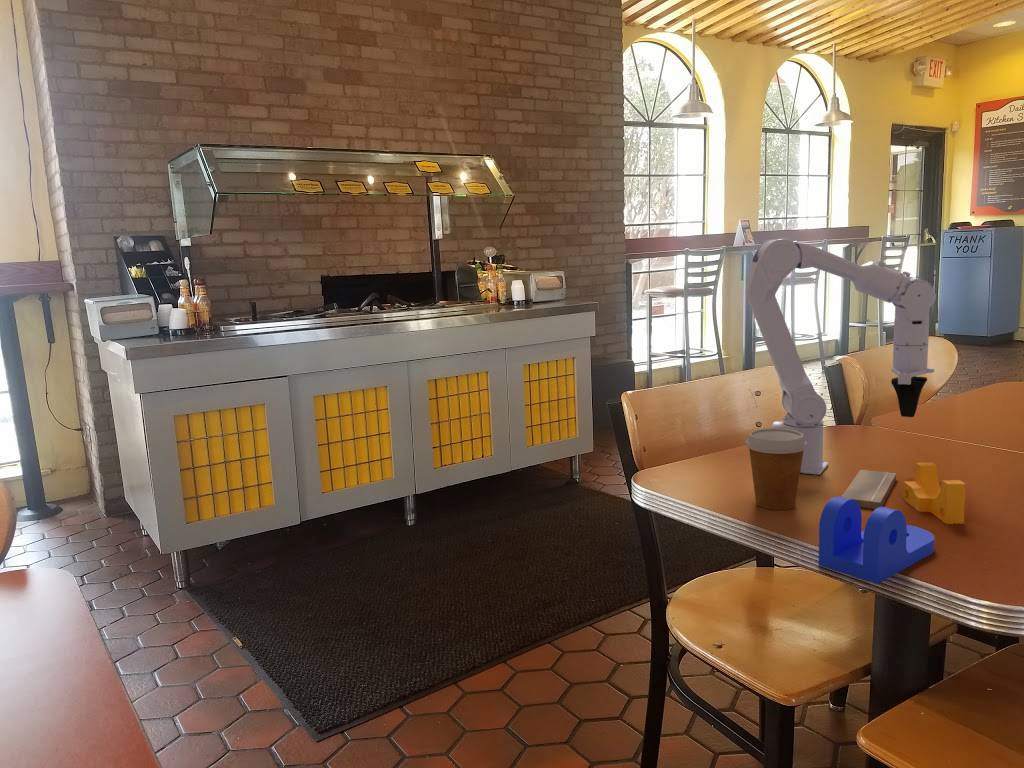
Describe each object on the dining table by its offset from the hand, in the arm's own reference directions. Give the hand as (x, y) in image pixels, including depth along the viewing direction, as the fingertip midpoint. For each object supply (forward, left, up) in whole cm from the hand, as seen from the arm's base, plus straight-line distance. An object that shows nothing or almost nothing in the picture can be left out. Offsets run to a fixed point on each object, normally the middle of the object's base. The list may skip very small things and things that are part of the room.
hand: (907, 416), depth 147 cm
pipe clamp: (+7, -24, -10) cm, 27 cm away
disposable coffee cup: (-16, -31, -10) cm, 36 cm away
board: (-3, -18, -10) cm, 21 cm away
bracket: (+3, -47, -10) cm, 48 cm away
